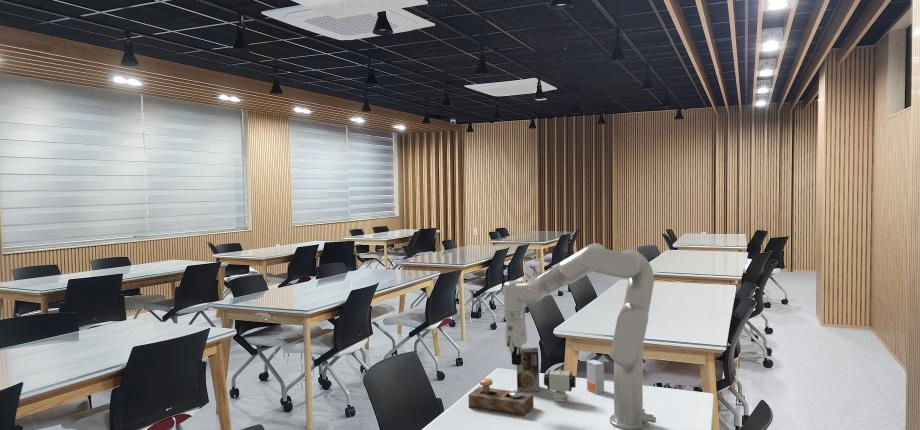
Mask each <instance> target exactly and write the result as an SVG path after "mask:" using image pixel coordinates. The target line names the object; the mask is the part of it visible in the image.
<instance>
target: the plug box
mask: <svg viewBox="0 0 920 430" xmlns="http://www.w3.org/2000/svg"><path fill="white" fill-rule="evenodd" d="M511 391H512V390H506V389H499V388H493V387H490V395H487V394H483V386H478V387H477V388H475V389H474V390H473V391H471V393H469V394H468V408H469V409H475V410H480V411H484V412H485V411H487V412H492V413H499V414H505V415H511V416H517V417H523V418H525V417H526V415H527V414H528V413H529V412H531V411H532V410H533V408H534V394H533V393H527V392H522V397H521V398H519V399H515V398H511V397H510V396H509V392H511Z"/></svg>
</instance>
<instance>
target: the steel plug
mask: <svg viewBox="0 0 920 430" xmlns="http://www.w3.org/2000/svg"><path fill="white" fill-rule="evenodd" d="M510 391H511V392H509V396H510V397H511V398H515V399H519V398H521V397H522V393H523V391H517V390H510Z"/></svg>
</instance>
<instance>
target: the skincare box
mask: <svg viewBox="0 0 920 430" xmlns="http://www.w3.org/2000/svg"><path fill="white" fill-rule="evenodd" d="M586 390H587V391H589V392H591V393H593V394H594V395H600V394H604V393H605V364H604V363H603V362H602V361H599V360H596V359H590V360H586Z"/></svg>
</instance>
